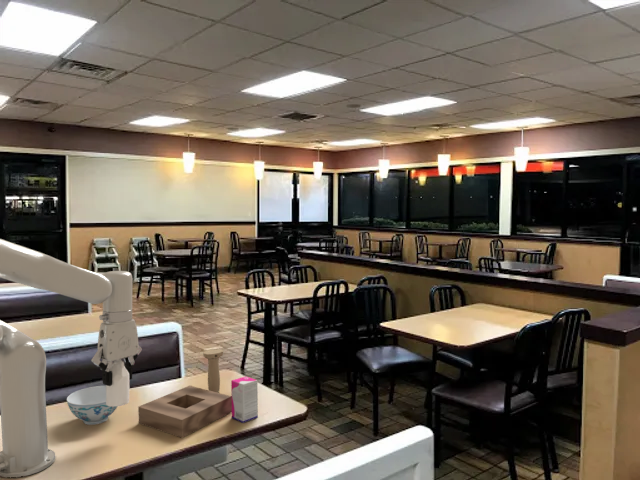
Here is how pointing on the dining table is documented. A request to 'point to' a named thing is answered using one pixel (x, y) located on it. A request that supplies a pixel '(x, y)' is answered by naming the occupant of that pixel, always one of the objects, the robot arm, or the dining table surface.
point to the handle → (213, 369)
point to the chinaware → (90, 405)
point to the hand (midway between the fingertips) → (117, 381)
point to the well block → (185, 410)
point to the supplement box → (244, 399)
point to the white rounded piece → (118, 385)
